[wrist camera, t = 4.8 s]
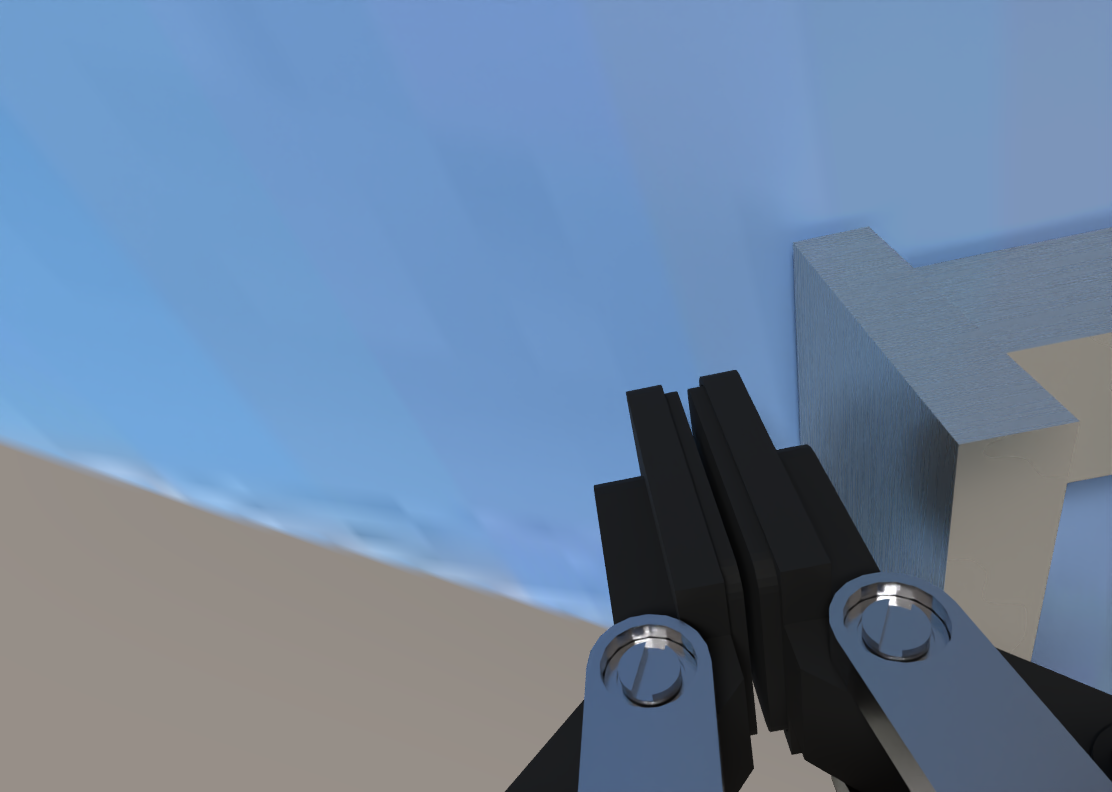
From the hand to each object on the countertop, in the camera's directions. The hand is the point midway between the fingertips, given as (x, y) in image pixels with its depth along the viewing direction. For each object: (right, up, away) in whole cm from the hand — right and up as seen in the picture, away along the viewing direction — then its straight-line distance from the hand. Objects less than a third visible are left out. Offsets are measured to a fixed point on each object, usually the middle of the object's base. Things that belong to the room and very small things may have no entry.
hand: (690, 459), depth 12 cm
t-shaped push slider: (+6, +2, +1) cm, 7 cm away
